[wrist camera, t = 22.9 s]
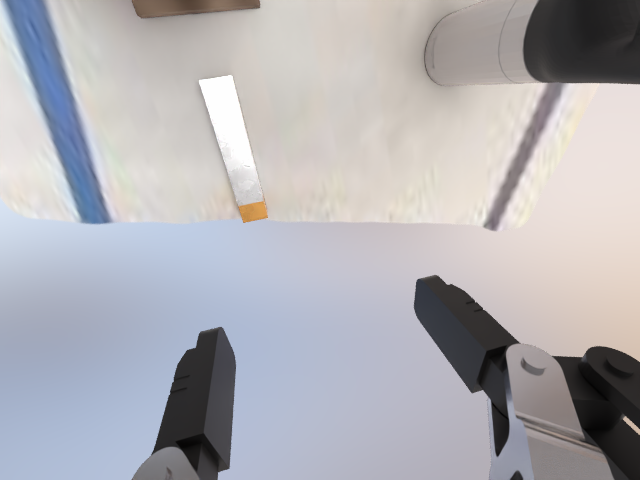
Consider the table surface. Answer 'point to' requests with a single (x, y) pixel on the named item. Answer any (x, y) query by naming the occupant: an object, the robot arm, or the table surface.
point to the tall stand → (188, 6)
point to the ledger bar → (234, 145)
